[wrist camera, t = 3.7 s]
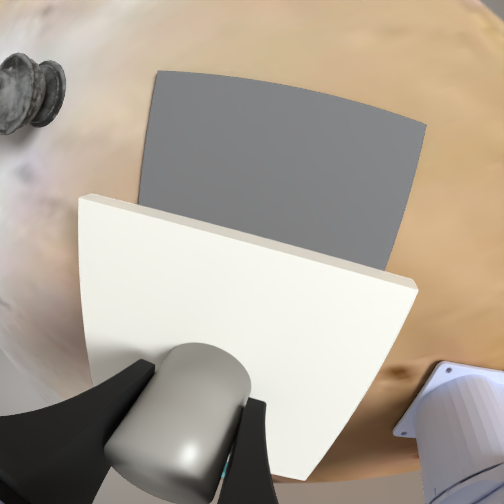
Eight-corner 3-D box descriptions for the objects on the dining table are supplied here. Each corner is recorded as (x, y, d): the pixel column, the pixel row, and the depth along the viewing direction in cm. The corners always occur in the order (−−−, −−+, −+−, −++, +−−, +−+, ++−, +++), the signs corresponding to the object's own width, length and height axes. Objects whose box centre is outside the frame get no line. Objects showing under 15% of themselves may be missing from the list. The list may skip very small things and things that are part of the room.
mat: (424, 125, 14) (426, 124, 14) (346, 357, 20) (346, 361, 20) (161, 71, 16) (157, 70, 16) (136, 295, 22) (133, 298, 22)
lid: (413, 279, 10) (469, 407, 5) (306, 469, 14) (290, 560, 9) (91, 192, 11) (-31, 242, 6) (104, 399, 16) (51, 468, 11)
